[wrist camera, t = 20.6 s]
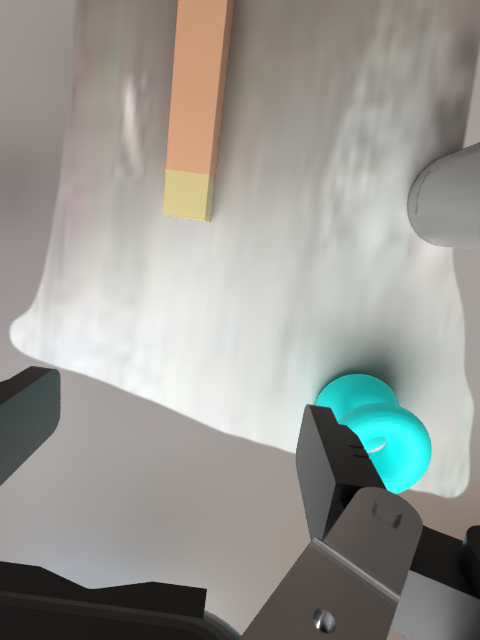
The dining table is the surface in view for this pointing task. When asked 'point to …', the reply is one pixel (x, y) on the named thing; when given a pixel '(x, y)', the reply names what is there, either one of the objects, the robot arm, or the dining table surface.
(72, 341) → the dining table surface
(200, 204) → the plug
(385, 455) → the donuts
